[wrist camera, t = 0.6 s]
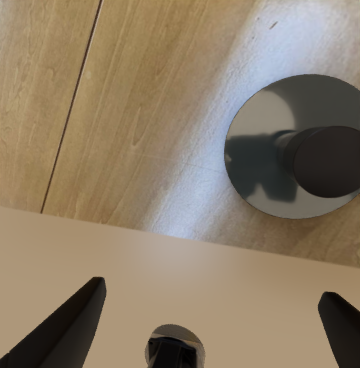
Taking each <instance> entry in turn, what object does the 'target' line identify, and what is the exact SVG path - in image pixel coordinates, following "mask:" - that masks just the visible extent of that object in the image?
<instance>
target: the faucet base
mask: <svg viewBox="0 0 360 368" xmlns="http://www.w3.org/2000/svg"><path fill="white" fill-rule="evenodd" d="M325 126H348V127H352V128H355V129H357V130H359V131H360V91H359V90H358V89H357V88H355V87H354V86H352V85H350V84H349V83H347V82H344V81H342V80H340V79H337V78H334V77H330V76H325V75H317V74H304V75H297V76H292V77H288V78H284V79H281V80H279V81H276V82H274V83H272V84H270V85H268V86H266V87H264V88H263V89H261V90H260V91H258V92H257V93H255V94H254V95H253V96H252V97H251V98H250V99H249V100H247V101H246V103H245V104H244V105H243V106H242V107H241V108H240V110H239V111H238V113H237V114H236V115H235V117H234V119H233V121H232V123H231V125H230V127H229V130H228V133H227V136H226V141H225V148H224V160H225V166H226V170H227V173H228V176H229V179H230V181H231V183H232V185H233V186H234V188H235V189H236V191H237V192H238V193H239V194H240V196H241V197H242V198H243V199H244V200H245V201H247V202H248V203H249V204H250V205H252V206H253V207H255V208H256V209H258V210H260V211H262V212H264V213H267V214H269V215H272V216H276V217H280V218H288V219H304V218H312V217H317V216H321V215H324V214H327V213H330V212H332V211H334V210H336V209H338V208H340V207H342V206H343V205H345V204H347V203H348V202H350V201H351V200H352V199H353V198H355V197H356V196H357V195H358V194H359V193H360V189H358V190H357V191H355V192H353V193H351V194H349V195H346V196H343V197H339V198H322V197H317V196H314V195H312V194H310V193H308V192H307V191H305V190H304V189H303V188H302V187H300V186H299V185H298V184H297V183H296V182H295V181H293V180H292V179H291V178H290V177H289V176H288V175H287V173H286V171H285V169H284V166H283V153H284V149H285V147H286V145H287V144H288V142H289V141H290V140H291V139H292V138H293V137H294V136H295V135H296V134H298V133H299V132H301V131H303V130H306V129H309V128H313V127H325Z"/></svg>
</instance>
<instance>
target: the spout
mask: <svg viewBox="0 0 360 368" xmlns="http://www.w3.org/2000/svg"><path fill="white" fill-rule="evenodd" d="M283 166H284V169H285V171H286V173H287V175H288V176H289V177H290V178H291V179H292V180H293V181H295V182H296V183H297V184H298V185H299V186H300V187H302V188H303V189H304V190H305V191H307V192H308V193H310V194H312V195H314V196H317V197H322V198H339V197H343V196H346V195H349V194H351V193H353V192H355V191H357V190H358V189H360V131H359V130H357V129H355V128H352V127H348V126H325V127H313V128H309V129H306V130H303V131H301V132H299V133H298V134H296V135H295V136H294V137H293V138H292V139H291V140H290V141H289V142H288V144H287V145H286V147H285V149H284V153H283Z"/></svg>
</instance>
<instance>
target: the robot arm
mask: <svg viewBox="0 0 360 368" xmlns="http://www.w3.org/2000/svg"><path fill="white" fill-rule="evenodd" d="M105 297H106V285H105V280H104V278H103V277H93V278H92V279H91V280H89V281H88V282H87V283H86V284H85V285H84V286H83V287H82V288H80V289H79V290H78V291H77V292H76V293H75V294H74V295H73V296H71V297H70V298H69V299H68V300H67V301H66V302H65V303H64V304H62V305H61V306H60V307H59V308H58V309H57V310H56V311H54V313H52V314H51V315H50V316H49V317H48V318H47V319H45V320H44V321H43V322H42V323H41V324H40V325H39V326H37V327H36V328H35V329H34V330H33V331H32V332H31V333H30V334H29V335H27V336H26V337H25V338H24V339H23V340H22V341H20V342H19V343H18V344H17V345H16V346H15V347H14V348H13V349H11V350H10V352H9V353H7V354H6V355H4V356H3V357H2V358H1V359H0V368H82V367H83V364H84V361H85V359H86V356H87V354H88V351H89V349H90V346H91V343H92V341H93V338H94V336H95V332H96V329H97V325H98V322H99V319H100V315H101V311H102V308H103V305H104V301H105ZM318 311H319V314H320V317H321V320H322V323H323V326H324V329H325V331H326V335H327V338H328V340H329V343H330V346H331V349H332V352H333V354H334V357H335V359H336V361H337V364H338V366H339V368H360V311H359V310H357V309H356V308H355V307H354V306H352V305H351V304H350V303H348V302H347V301H346V300H345V299H343V298H342V297H341V296H340V295H338V294H337V293H335V292H324V293H323V295H322V297H321V299H320V301H319V304H318ZM148 351H149V365H148V368H197V349H196V348H195V347H191V346H187V345H183V344H178V343H174V342H170V341H165V340H161V339H157V338H152V337H151V338H150V339H149V341H148Z"/></svg>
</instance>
